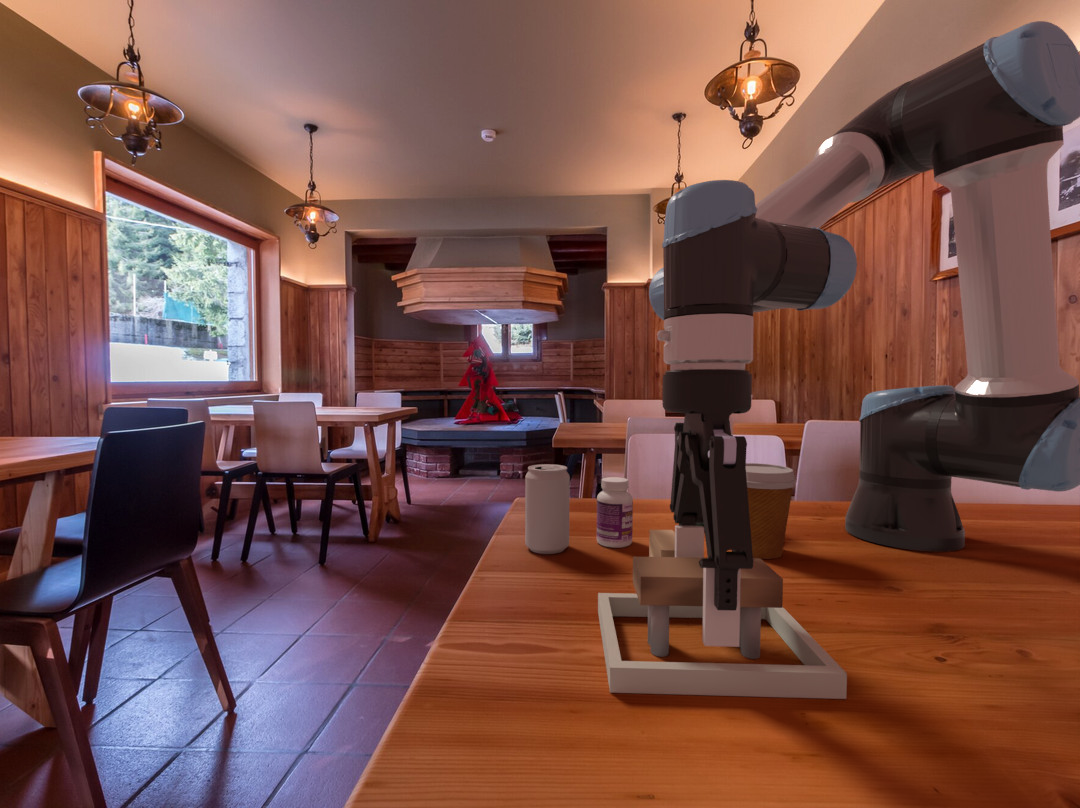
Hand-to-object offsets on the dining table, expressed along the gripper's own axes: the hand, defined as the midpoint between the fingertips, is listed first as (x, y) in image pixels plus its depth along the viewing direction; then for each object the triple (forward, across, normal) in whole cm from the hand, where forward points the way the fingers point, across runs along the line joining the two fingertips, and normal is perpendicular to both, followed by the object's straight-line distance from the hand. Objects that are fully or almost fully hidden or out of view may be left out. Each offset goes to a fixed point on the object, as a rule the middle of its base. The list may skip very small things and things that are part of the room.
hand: (702, 614), depth 46 cm
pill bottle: (+3, -30, -5) cm, 31 cm away
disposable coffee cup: (+3, -27, +15) cm, 31 cm away
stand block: (+3, -16, 0) cm, 16 cm away
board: (-2, 0, 0) cm, 2 cm away
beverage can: (+3, -27, -15) cm, 31 cm away
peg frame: (+3, 0, 0) cm, 3 cm away
